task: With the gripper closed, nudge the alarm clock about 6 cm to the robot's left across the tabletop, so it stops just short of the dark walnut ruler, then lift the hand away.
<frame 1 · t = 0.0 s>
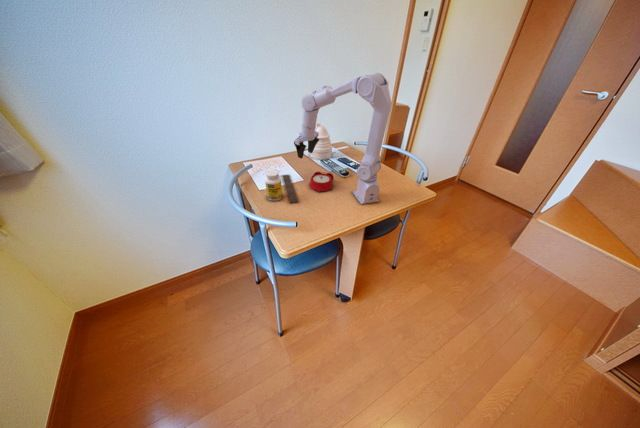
hand: (305, 154, 101), 11 cm above the table, tool pointing down, fingers open, 7 cm apart
alarm clock: (321, 184, 101), on the table
pill bottle: (275, 197, 91), on the table
ruler: (289, 188, 97), on the table
honey pot: (320, 155, 129), on the table
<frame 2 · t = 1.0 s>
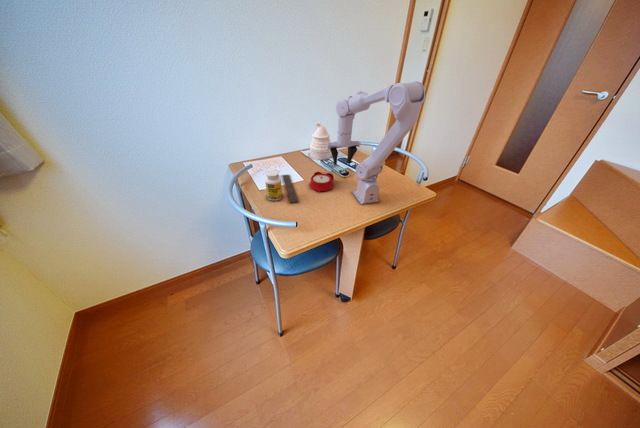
hand: (341, 163, 97), 9 cm above the table, tool pointing down, fingers open, 6 cm apart
nothing on the table moved.
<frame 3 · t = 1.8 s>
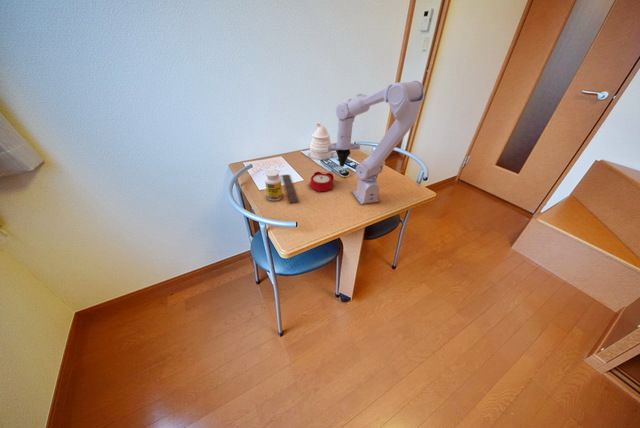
hand: (341, 165, 98), 8 cm above the table, tool pointing down, fingers closed
nothing on the table moved.
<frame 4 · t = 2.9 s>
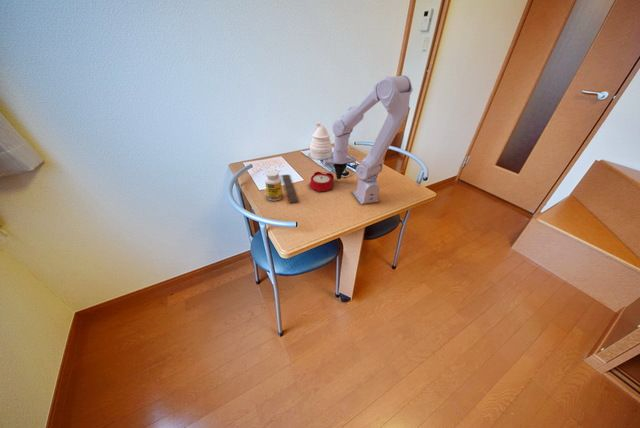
hand: (338, 178, 101), 2 cm above the table, tool pointing down, fingers closed
nothing on the table moved.
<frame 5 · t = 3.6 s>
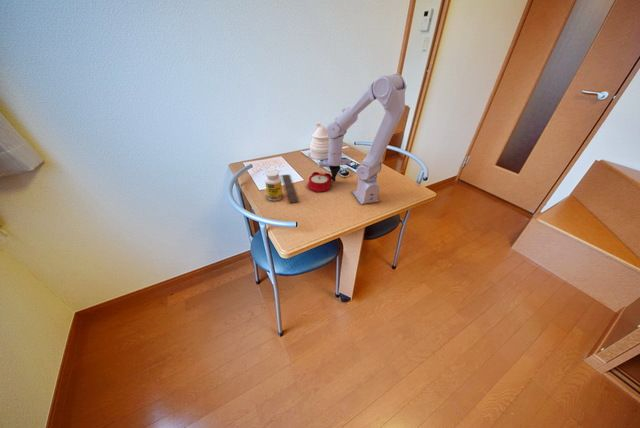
hand: (333, 180, 101), 1 cm above the table, tool pointing down, fingers closed, pressing on alarm clock
alarm clock: (319, 185, 101), on the table, touching gripper
everything else where it was.
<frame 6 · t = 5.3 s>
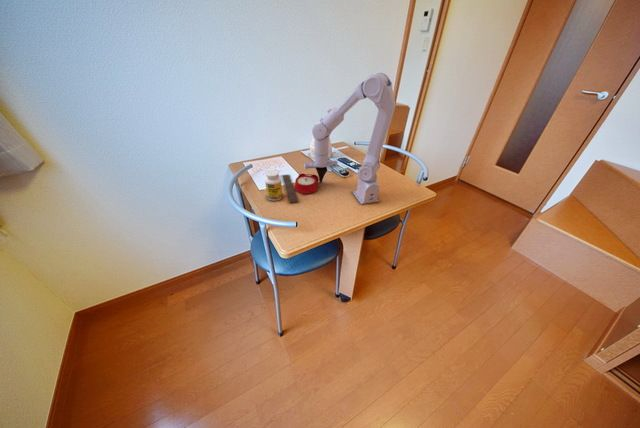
hand: (320, 181, 100), 1 cm above the table, tool pointing down, fingers closed
alarm clock: (306, 186, 99), on the table, touching gripper
everything else where it was.
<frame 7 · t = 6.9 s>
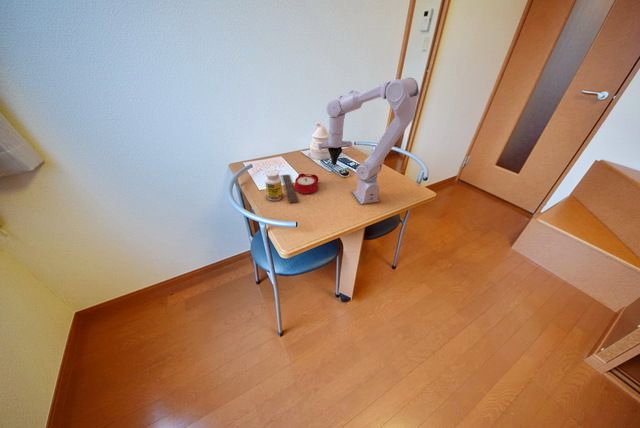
hand: (333, 163, 97), 9 cm above the table, tool pointing down, fingers closed
alarm clock: (306, 186, 99), on the table
everything else where it was.
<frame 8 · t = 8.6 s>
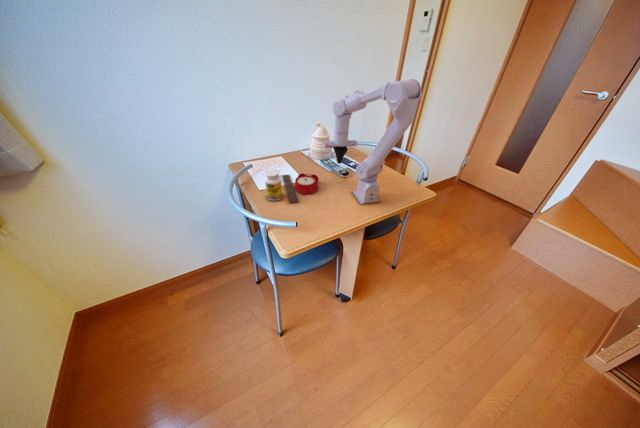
hand: (339, 162, 98), 9 cm above the table, tool pointing down, fingers closed
nothing on the table moved.
at the end: alarm clock 0.2 cm from the target spot, on the table; alarm clock moved 7.2 cm from its start; alarm clock tilted 0° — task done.
